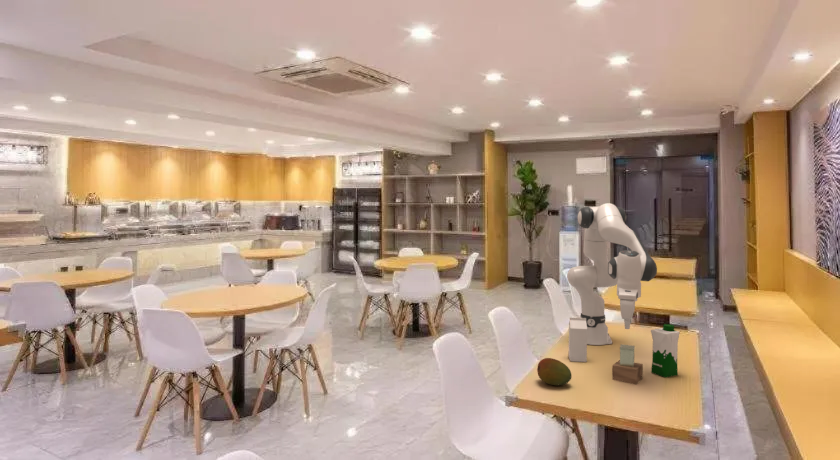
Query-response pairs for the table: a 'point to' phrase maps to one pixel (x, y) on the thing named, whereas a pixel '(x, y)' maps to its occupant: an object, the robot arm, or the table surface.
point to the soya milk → (665, 351)
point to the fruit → (553, 372)
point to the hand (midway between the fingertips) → (628, 326)
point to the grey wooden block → (627, 355)
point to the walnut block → (627, 373)
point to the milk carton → (578, 339)
